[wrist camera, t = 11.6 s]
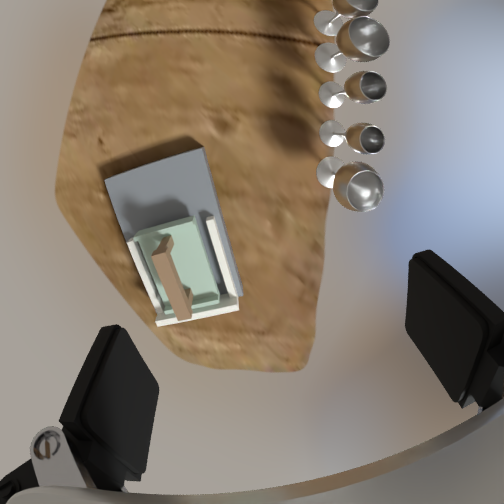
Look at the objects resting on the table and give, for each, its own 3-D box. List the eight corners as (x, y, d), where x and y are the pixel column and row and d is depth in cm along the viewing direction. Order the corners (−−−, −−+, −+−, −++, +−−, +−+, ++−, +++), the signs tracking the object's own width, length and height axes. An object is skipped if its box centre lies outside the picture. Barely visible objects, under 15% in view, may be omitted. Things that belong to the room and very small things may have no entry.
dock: (112, 176, 39) (93, 185, 33) (203, 146, 39) (199, 150, 33) (160, 303, 48) (152, 327, 42) (242, 285, 48) (244, 308, 42)
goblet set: (307, 7, 31) (337, -31, 19) (346, 12, 31) (386, -19, 19) (312, 191, 43) (343, 220, 30) (348, 191, 43) (391, 219, 31)
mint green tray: (141, 227, 40) (122, 251, 32) (195, 211, 39) (187, 233, 32) (169, 299, 45) (160, 333, 37) (220, 288, 44) (218, 322, 37)
